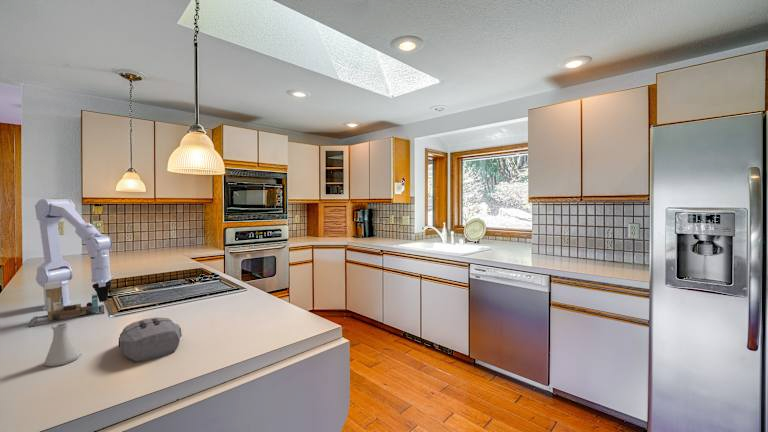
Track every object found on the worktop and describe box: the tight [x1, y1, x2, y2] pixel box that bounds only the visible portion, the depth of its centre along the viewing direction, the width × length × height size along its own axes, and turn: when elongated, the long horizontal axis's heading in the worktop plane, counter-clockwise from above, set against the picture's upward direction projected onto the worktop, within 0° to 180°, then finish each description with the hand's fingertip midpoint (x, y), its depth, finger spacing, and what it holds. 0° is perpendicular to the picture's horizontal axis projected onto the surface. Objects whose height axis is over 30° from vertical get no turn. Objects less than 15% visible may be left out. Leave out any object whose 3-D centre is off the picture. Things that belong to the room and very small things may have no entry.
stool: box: [50, 293, 99, 321], centre depth 129 cm, size 11×13×5 cm
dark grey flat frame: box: [29, 304, 105, 328], centre depth 128 cm, size 11×20×1 cm, turn 130°
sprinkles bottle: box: [45, 281, 64, 321], centre depth 125 cm, size 5×5×13 cm
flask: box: [43, 322, 82, 367], centre depth 93 cm, size 7×7×10 cm
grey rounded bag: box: [118, 317, 183, 363], centre depth 100 cm, size 15×8×20 cm
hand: (103, 301), depth 134 cm, fingers closed, pressing on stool
